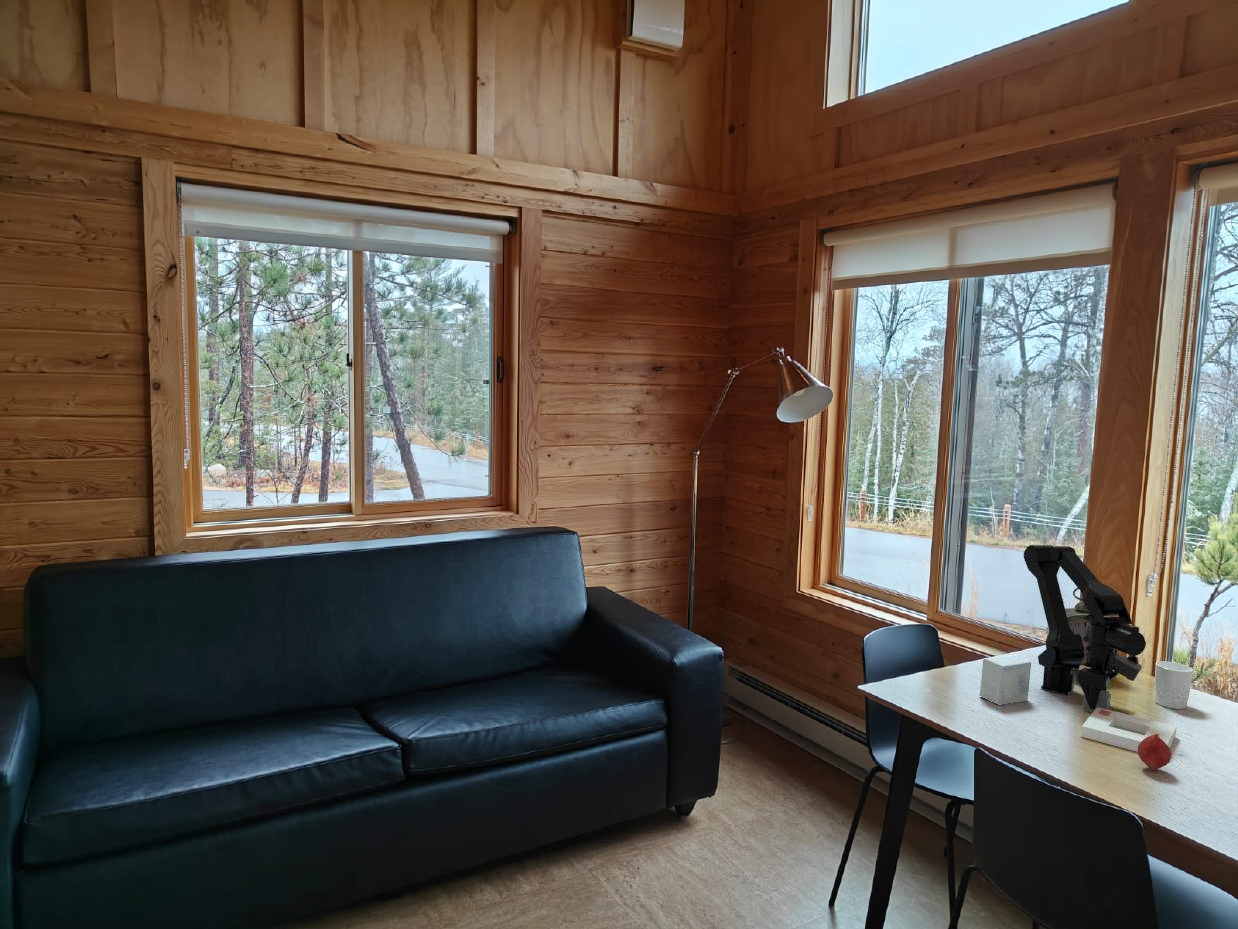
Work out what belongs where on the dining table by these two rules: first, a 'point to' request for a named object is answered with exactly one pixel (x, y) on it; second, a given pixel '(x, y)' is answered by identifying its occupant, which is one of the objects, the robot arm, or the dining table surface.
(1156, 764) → the onion
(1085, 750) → the dining table surface
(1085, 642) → the tabletop clock
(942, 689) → the dining table surface
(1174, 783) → the dining table surface
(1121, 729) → the socket plate
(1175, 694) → the white cup
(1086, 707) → the plug
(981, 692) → the skincare box
